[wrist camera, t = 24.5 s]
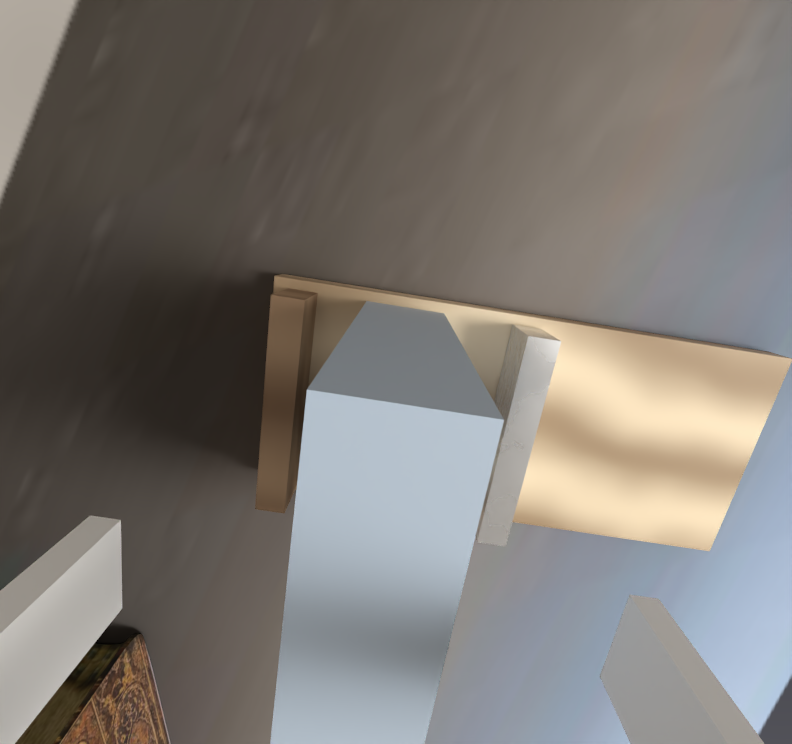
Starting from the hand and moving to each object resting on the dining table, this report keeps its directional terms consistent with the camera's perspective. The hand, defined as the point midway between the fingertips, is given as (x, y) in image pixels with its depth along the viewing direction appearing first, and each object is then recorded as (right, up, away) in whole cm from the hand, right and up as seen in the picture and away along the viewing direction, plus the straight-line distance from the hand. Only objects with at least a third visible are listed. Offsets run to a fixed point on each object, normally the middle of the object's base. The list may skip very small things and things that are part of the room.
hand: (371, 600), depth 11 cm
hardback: (0, +4, +12) cm, 13 cm away
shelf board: (+7, +3, +14) cm, 16 cm away
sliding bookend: (+6, +3, +13) cm, 14 cm away
